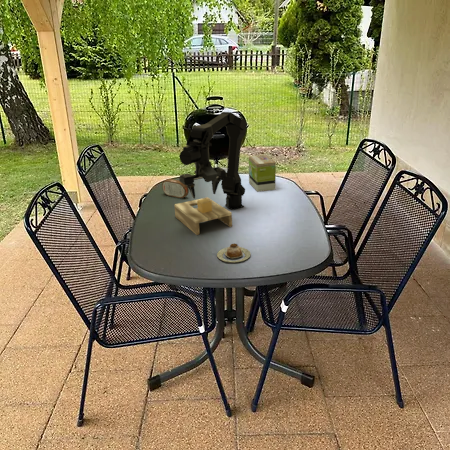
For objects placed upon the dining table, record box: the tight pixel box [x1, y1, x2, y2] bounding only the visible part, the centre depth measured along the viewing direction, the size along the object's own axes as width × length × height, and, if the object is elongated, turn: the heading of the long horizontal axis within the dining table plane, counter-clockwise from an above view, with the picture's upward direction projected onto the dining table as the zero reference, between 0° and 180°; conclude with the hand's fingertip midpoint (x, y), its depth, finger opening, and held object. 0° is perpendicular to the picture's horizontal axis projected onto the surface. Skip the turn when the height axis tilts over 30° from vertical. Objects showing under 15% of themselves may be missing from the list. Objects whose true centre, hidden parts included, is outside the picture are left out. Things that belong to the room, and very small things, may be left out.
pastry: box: [216, 243, 251, 264], centre depth 154 cm, size 12×12×5 cm
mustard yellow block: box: [196, 199, 212, 213], centre depth 179 cm, size 4×4×8 cm
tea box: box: [248, 154, 277, 193], centre depth 221 cm, size 15×10×15 cm
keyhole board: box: [174, 197, 233, 236], centre depth 182 cm, size 16×22×6 cm
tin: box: [161, 178, 190, 199], centre depth 212 cm, size 15×3×8 cm, turn 58°
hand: (204, 196), depth 178 cm, fingers open, 9 cm apart
